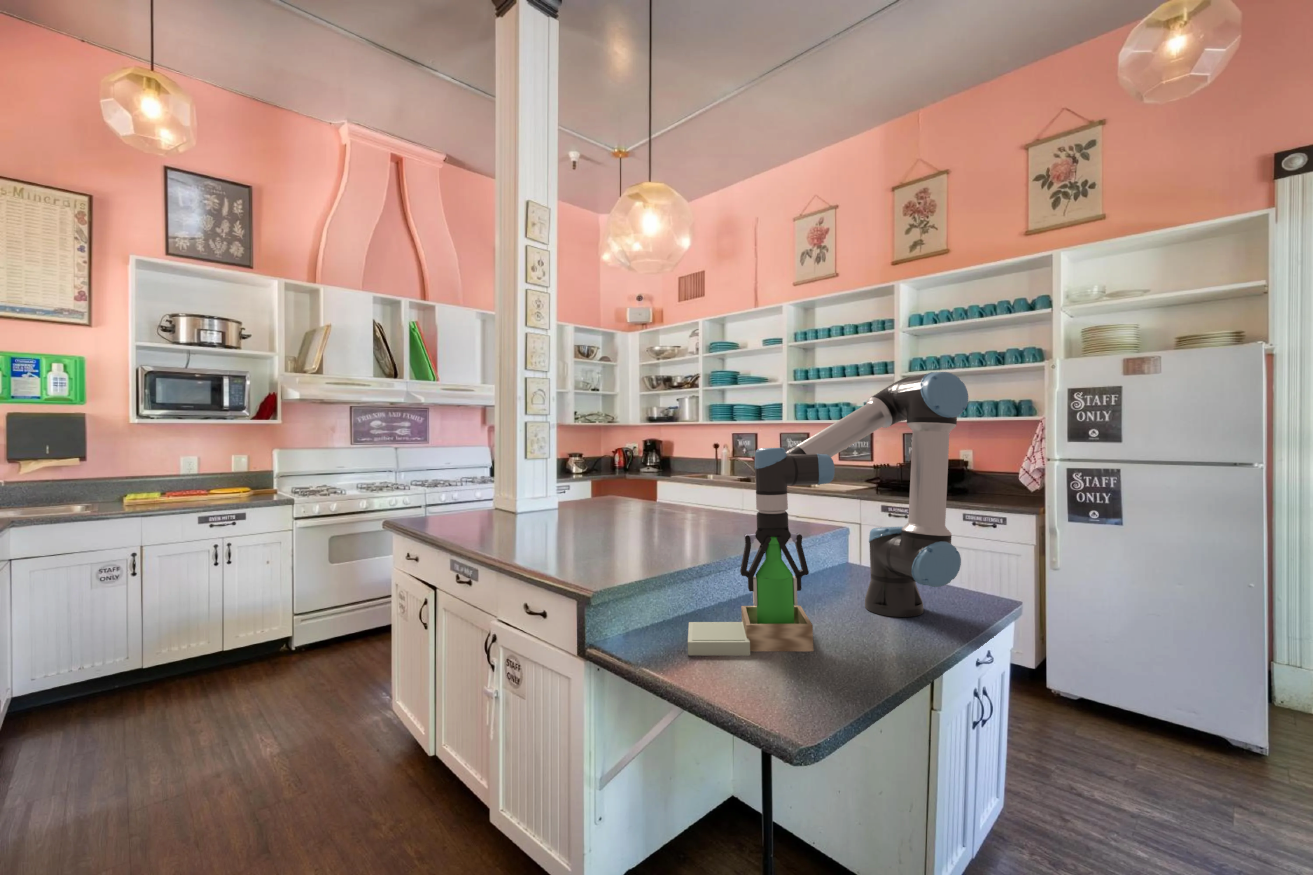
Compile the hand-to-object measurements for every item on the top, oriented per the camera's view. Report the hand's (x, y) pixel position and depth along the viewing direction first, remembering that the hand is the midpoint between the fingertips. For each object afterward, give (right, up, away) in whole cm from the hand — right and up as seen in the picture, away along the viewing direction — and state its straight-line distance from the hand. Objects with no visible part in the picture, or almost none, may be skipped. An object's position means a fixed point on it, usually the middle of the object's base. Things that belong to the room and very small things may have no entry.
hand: (775, 604), depth 135 cm
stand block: (-14, -9, -2) cm, 17 cm away
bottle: (0, -9, 0) cm, 9 cm away
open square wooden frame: (0, -9, 0) cm, 9 cm away
